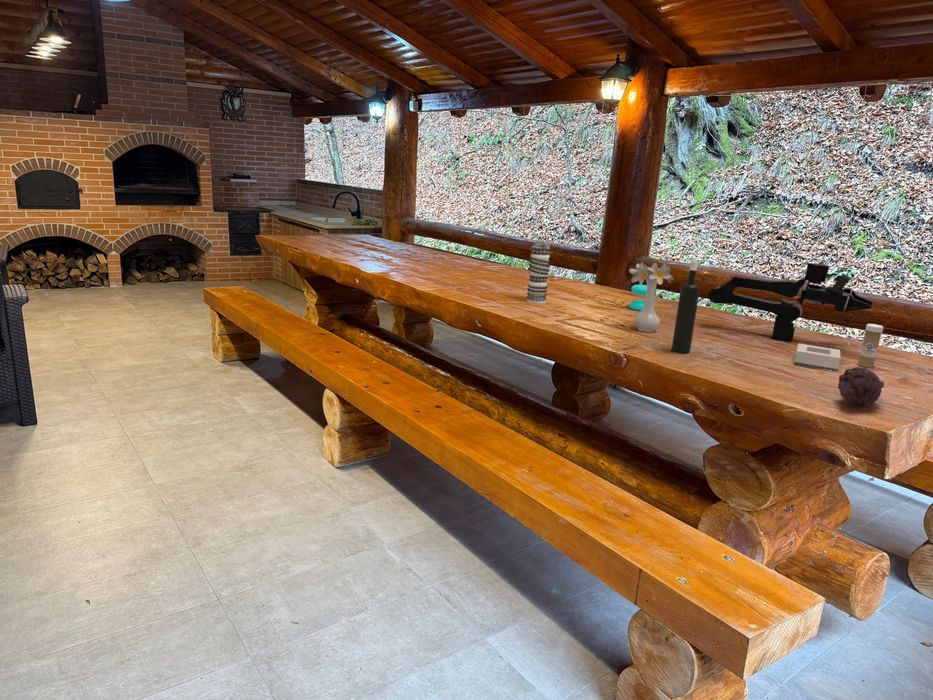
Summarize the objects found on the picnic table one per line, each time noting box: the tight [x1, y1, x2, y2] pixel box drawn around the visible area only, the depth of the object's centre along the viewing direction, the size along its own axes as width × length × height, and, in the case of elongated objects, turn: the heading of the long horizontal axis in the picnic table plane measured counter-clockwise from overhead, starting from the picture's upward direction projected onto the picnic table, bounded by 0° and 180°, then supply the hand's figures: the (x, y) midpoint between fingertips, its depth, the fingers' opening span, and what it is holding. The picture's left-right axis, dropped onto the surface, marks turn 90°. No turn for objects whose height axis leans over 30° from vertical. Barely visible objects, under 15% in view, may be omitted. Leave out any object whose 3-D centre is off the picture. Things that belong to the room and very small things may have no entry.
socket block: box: [793, 343, 841, 372], centre depth 203 cm, size 12×12×4 cm
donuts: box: [628, 284, 657, 312], centre depth 274 cm, size 10×10×10 cm
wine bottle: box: [671, 258, 700, 355], centre depth 206 cm, size 6×6×30 cm
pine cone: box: [837, 366, 885, 407], centre depth 165 cm, size 18×10×10 cm, turn 131°
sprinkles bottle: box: [857, 323, 884, 369], centre depth 203 cm, size 5×5×13 cm
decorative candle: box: [526, 242, 551, 304], centre depth 276 cm, size 9×9×25 cm
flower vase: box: [628, 262, 675, 333], centre depth 234 cm, size 13×18×25 cm
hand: (871, 305), depth 218 cm, fingers open, 9 cm apart
